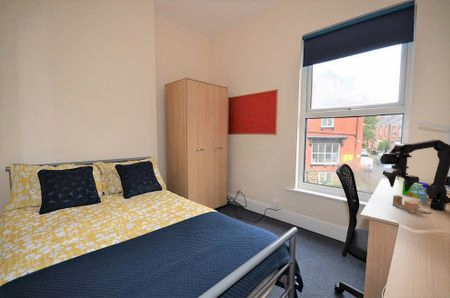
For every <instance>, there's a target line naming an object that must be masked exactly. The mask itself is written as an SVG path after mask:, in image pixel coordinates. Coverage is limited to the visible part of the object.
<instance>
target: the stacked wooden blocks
mask: <svg viewBox="0 0 450 298" xmlns="http://www.w3.org/2000/svg"><path fill="white" fill-rule="evenodd" d="M392 198H393V199H392V204H394V205H396V206H399V207H401V208H403V209H405V208H404V205H403V204H404V203H403V196H402V195H397V194H396V195H393V197H392ZM406 210H408V209H406ZM408 211H410V210H408ZM410 212H412V213H411V214H421V213H420V209H411V211H410Z"/></svg>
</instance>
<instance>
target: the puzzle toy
mask: <svg viewBox="0 0 450 298" xmlns="http://www.w3.org/2000/svg"><path fill="white" fill-rule="evenodd" d="M402 182H403V181H402ZM413 185H419V186H421V187H424V188H426V189H427V185H429V183H426V182H422V181H421V182H420V181H419V182H417V183H414V184H413ZM413 189H414V190H413V191H417V189H416V188H413ZM401 190H402V192H401V193H402V194H401V195H403V196H407V197H410V198H416V199H418V200H419V199H420V198H419V196H418V195H416V194H414V193H412V192H410V191H412V186H411V187H410V188H409V190H408V191H407V192H405V183H404V182H403V183H402V189H401ZM419 191H420V190H419ZM421 191H422V192H424V193H425V191H426V190H425V189H422V190H421ZM421 197H422V199H423V196H421Z"/></svg>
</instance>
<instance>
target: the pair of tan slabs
mask: <svg viewBox="0 0 450 298" xmlns="http://www.w3.org/2000/svg"><path fill="white" fill-rule="evenodd" d="M418 209H420V212H422V213H421V214H431V213H430V211H431V210H428V209H426V208H423V207H421V208H418ZM425 209H426V210H425Z"/></svg>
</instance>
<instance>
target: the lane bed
mask: <svg viewBox="0 0 450 298" xmlns="http://www.w3.org/2000/svg"><path fill="white" fill-rule="evenodd" d="M402 204H403V205H404V203H402ZM391 206H392V207H395V208H396V209H399V210H402V211H404V212H406V213H408V214H413V213H412V212H410V211H408V210H406V209H403V208H401V207H399V206H396V205H394V204H393V203H392V204H391ZM418 208H422V207H420V206H418ZM424 209H425V210H427V209H426V208H424ZM429 211H430V213H429V214H431V213H432V211H431V210H429ZM419 214H423V213H422V212H420V213H419Z"/></svg>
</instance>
